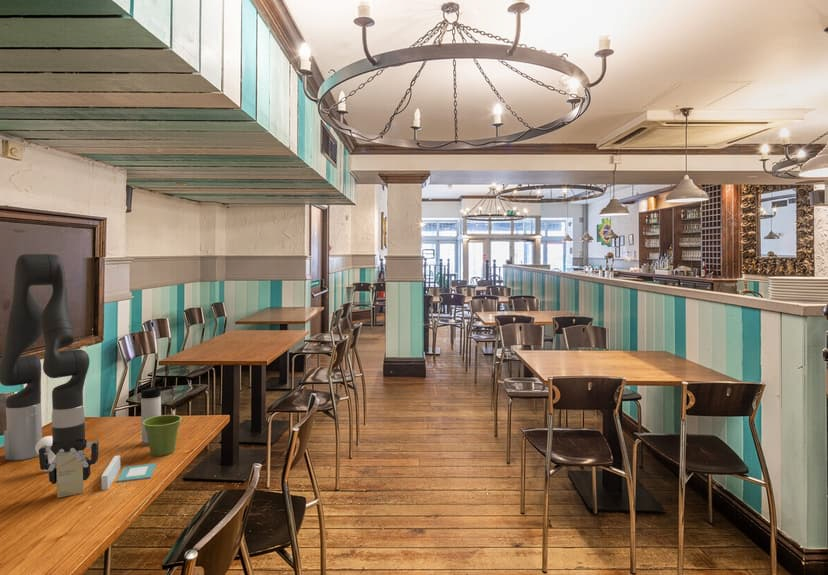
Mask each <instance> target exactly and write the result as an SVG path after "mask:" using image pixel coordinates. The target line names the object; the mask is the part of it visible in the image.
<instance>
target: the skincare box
mask: <svg viewBox="0 0 828 575" xmlns="http://www.w3.org/2000/svg"><path fill="white" fill-rule="evenodd" d="M83 451H84V450H81V451H78V452H79V453H80V455H81V456H82V457H83ZM83 467H84V466H83V461H80V462H79V461H78V460H77V458H76V457H75V454H72V453H71V452H70V451H67V452H64V453H58V452H57V466H56V468H57V482H56V498H58V499H59V498H65V497H70V496H75V495H79V494H83V493H84V481H83Z"/></svg>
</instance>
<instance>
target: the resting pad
mask: <svg viewBox="0 0 828 575" xmlns="http://www.w3.org/2000/svg"><path fill="white" fill-rule="evenodd" d="M157 464H158V463H157V462H154V463H146V464H137V465H129V466H124V467H123V469H122V470H121V473H120V474H119V476H118V477H117V479H116V483H121V482H129V481H139V480H145V479H146V480H147V479H152V476H153V474H154V472H155V469H156V467H157Z"/></svg>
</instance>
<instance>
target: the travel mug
mask: <svg viewBox="0 0 828 575" xmlns="http://www.w3.org/2000/svg"><path fill="white" fill-rule="evenodd" d="M161 390H162V386H152V387H148V388H144V389H142V390H141V391H140V408H141V413H140V416H141V418H140V419H141V444H142V445H144V446H149V442H148V437H147V432H146V430H145V426H144V425H143V421H144V420H146V419H148V418H151V417H155V416H161V415H162V398H161V397H162V396H161Z"/></svg>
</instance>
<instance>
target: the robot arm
mask: <svg viewBox="0 0 828 575" xmlns="http://www.w3.org/2000/svg"><path fill="white" fill-rule="evenodd" d="M15 262H16V263H15V267H14V279H13V292H12V293H13V294H12V302H11V306H10V310H9V311H10V312H9V314H8V315H9V316H8V320H7V327H6V328H7V329H6V337H5V342H4V343H5V344H4V348H3V351H2V355H1V358H0V384H1V385H2V386H4V387H13V386H20V385H26V386H25V387H23V389H21V390H20V391H18V392H16V393H13V394H11V395H10V396H7V398H6V399H5V415H6V418H5V419H6V430H4V431H3V438H4V440H3V441H4V461H23V460H29V459H32V458H36V457H38V459H39V467H40V470H42V471H44V470H48V471H49V472H48V480H49V481H48V482H49V483H51V485H57V452H58V453H64V452H67V451H70V452H71V453H72V454H75V457H76V458H77V460H78V461H79V462H80V461H83V482H84V481H87V480H88V479H89V477H90V476H91V466H93V465H95V464H96V463H97V461H99V444H100V443H99V441H98V440H94V441H87V440H86V425H85V424H86V423H85V422H86V421H85V420H86V415H85V408H84V394H83V393H84V386H85V380H86V378H87V374H88V371H89V368H90V356H89V354H88V353H87V352H86V350H84V349H78V348H77V349H71V350H63V351H62V350H61V351H59V350H60V349H63V348H66V347H68V346H71V345H72V344H73V343H74V342H75V341H76V334H75V332H74V328H73V324H72V320H71V316H70V312H69V304H68V292H67V282H66V274H65V266H64V264H63V260H62V258H61V257H60V256H59V255H57V254H55V253H53V254H52V253H25V254H21V255H19V256H18V257H17V259H16V261H15ZM32 286H51V287H52V294H51V296H50V298H49V300H48V302H47V303H46V306H45V307H44V308H43V307H42V304H40V303H39V301H37V300H36V299H35V297H34V296H33V294H32V293H31V291H30V288H31V287H32ZM42 335H43V339H44V355H43V356H44V357H43V363H42V362H41V360H40V357H39V356H38V355H33V354H30V355H23V353H24V352H26V351H27V350H28V349H29V348H30V347H31V346H32V345H34V344H35V343H36V342H37V341H38V340H39V339H40V338H41V337H42ZM22 355H23V356H22ZM42 370H43V372H44V375H46V377H49V378H50V379H59V378H65V377H70V379H69V380H68V381H66V382H65V383H62V384H59V385H57V386H55V387H54V388H53V389H52V391H51V401H52V402H51V403H52V412H51V431H52V432H51V436H52V441H53V443H52V446H42V447H41V448H40V449H39V455H38V454H37V452H36V450H35V447H36V444H37V442H38V441H39V440H40V439H41V438H43V424H42V422H43V421H42ZM86 448H88V450H90V451H91V453H90V458H89V457H88V454H87V453H86V452H85V449H86ZM50 450H51V451H52V452H53V453H54V454H55V455H56V456H55V458H54V460H53V462H52V463H51V464H49V463H48V453H49V452H50ZM81 450H83V457H82V456H81V455H80V453H79V452H78V451H81Z"/></svg>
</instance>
